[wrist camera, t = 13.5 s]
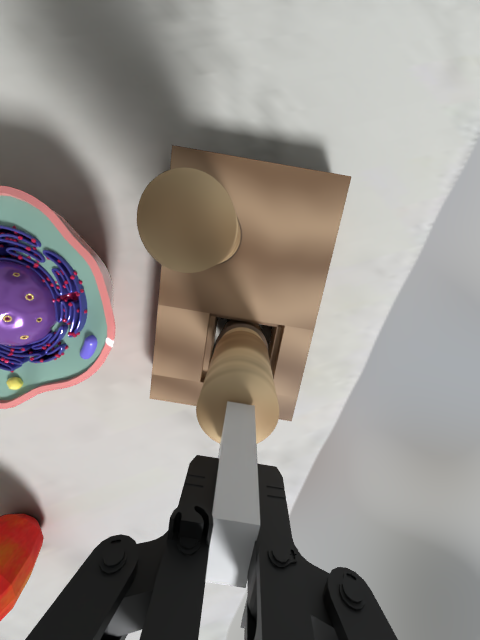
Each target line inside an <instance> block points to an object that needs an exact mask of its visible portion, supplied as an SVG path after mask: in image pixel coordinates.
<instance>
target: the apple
mask: <svg viewBox="0 0 480 640" xmlns="http://www.w3.org/2000/svg"><path fill="white" fill-rule="evenodd" d="M42 543H43V535H42V531H41V528H40V525H39V523H38V521H37V520H36V519H35V518H33V517H31V516H29V515H26V514H7V515H3V516H0V621H1V620H2V619H3V618H4V617H5V616H6V615H7V614H8V613H9V612H10V610H11V609H12V608H13V607H14V605H15V603H16V601H17V599H18V598H19V596H20V594H21V592H22V590H23V588H24V587H25V585H26V583H27V581H28V579H29V577H30V575H31V573H32V570H33V568H34V565H35V562H36V560H37V557H38V554H39V552H40V549H41V547H42Z"/></svg>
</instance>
